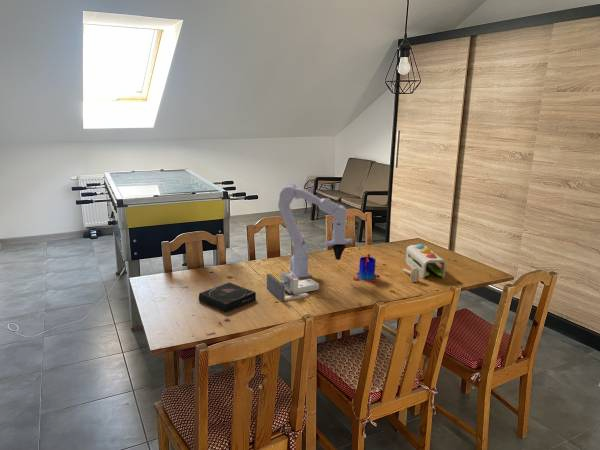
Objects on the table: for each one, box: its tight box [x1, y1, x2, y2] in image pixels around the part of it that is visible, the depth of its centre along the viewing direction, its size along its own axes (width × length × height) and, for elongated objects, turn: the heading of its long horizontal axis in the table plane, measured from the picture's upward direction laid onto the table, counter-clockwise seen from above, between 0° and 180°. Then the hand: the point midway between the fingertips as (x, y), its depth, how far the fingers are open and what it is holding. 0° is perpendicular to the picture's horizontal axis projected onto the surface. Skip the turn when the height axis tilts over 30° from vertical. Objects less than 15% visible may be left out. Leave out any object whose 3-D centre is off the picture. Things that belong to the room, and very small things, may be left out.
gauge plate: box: [280, 271, 295, 295], centre depth 199 cm, size 12×3×7 cm, turn 28°
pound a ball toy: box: [402, 243, 447, 283], centre depth 229 cm, size 28×18×12 cm, turn 7°
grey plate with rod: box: [266, 273, 309, 302], centre depth 201 cm, size 15×13×7 cm
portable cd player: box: [198, 282, 257, 314], centre depth 192 cm, size 16×17×4 cm
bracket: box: [287, 273, 320, 294], centre depth 204 cm, size 13×7×8 cm, turn 118°
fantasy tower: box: [352, 253, 381, 284], centre depth 220 cm, size 12×12×12 cm
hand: (337, 259), depth 218 cm, fingers closed
